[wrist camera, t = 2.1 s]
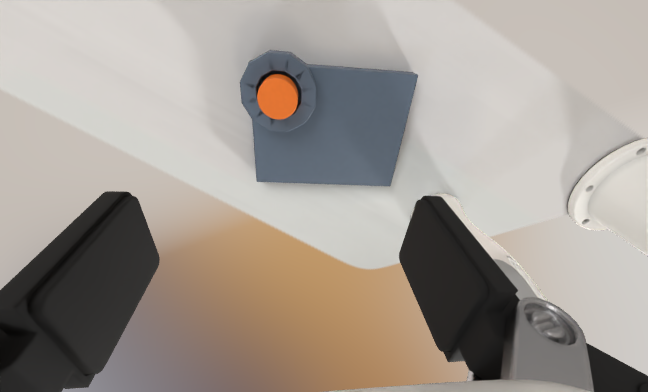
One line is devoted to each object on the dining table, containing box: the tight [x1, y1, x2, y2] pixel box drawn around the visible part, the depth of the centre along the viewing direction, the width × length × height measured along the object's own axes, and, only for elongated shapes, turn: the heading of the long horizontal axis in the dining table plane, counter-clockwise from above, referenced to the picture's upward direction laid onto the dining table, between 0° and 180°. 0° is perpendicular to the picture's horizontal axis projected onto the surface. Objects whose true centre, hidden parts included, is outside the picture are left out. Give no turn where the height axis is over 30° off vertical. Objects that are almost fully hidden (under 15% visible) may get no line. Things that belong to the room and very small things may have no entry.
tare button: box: [257, 74, 298, 119], centre depth 21 cm, size 3×3×2 cm
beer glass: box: [411, 194, 548, 301], centre depth 26 cm, size 7×7×15 cm
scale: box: [240, 50, 418, 186], centre depth 24 cm, size 14×12×3 cm
